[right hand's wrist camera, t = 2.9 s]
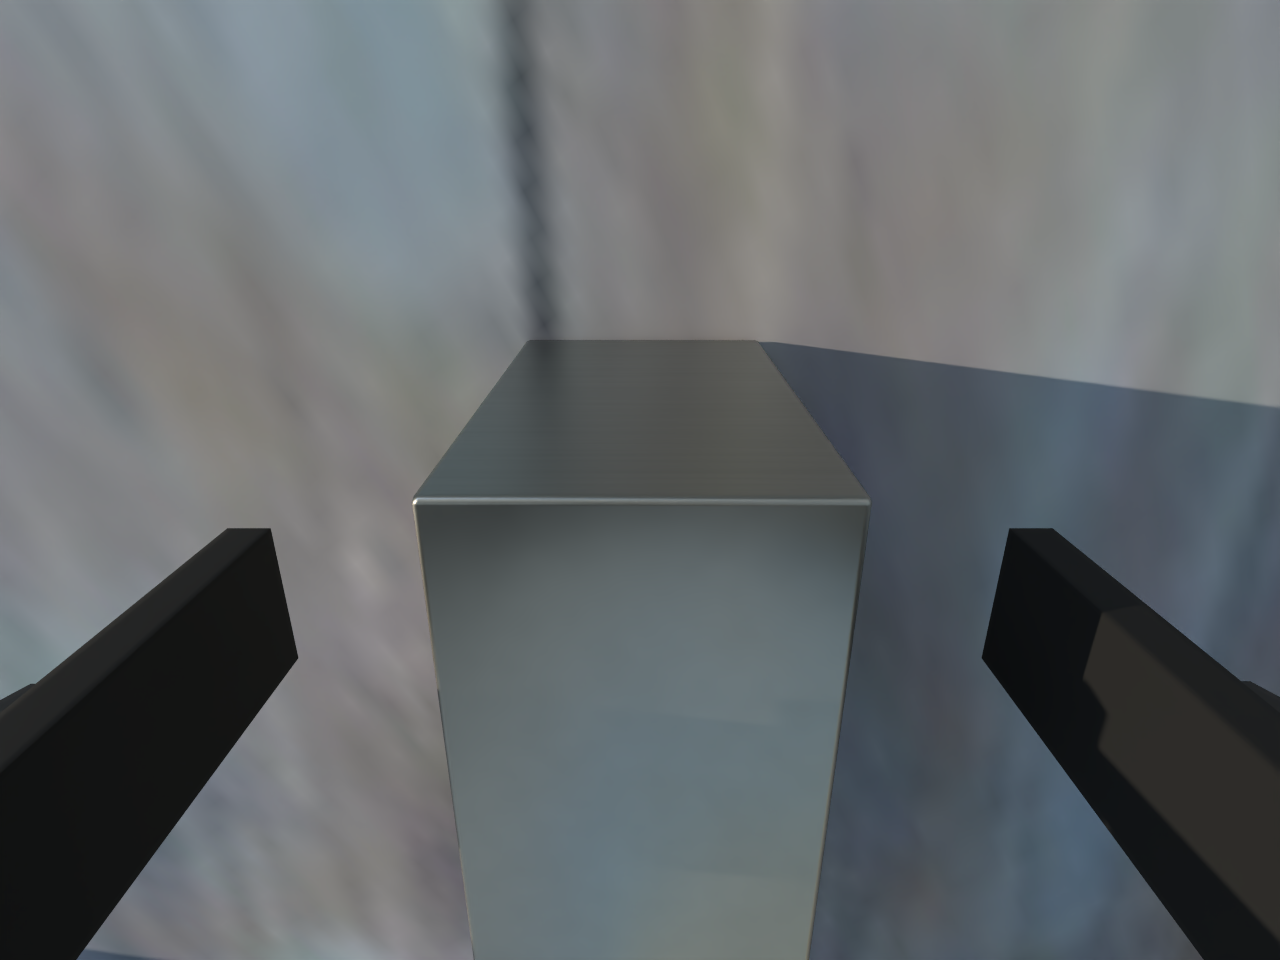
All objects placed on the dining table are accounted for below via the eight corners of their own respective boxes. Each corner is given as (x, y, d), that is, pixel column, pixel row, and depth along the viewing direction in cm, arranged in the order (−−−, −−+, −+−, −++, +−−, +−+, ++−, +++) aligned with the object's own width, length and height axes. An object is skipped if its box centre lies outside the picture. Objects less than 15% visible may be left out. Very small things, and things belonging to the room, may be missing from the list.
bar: (526, 339, 16) (407, 497, 8) (758, 339, 16) (874, 498, 8) (566, 983, 25) (528, 1373, 17) (717, 984, 25) (753, 1374, 17)
